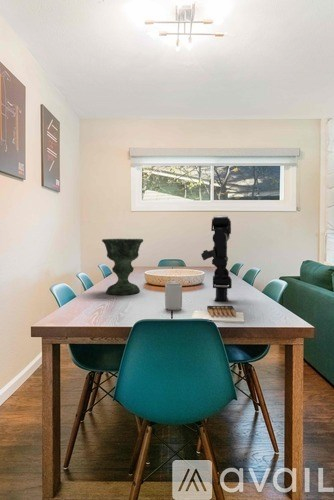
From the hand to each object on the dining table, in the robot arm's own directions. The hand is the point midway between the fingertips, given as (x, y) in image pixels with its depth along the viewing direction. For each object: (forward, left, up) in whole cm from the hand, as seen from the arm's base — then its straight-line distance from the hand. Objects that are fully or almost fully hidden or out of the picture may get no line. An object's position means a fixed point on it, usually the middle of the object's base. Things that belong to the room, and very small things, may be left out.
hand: (220, 278), depth 149 cm
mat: (+17, 0, -13) cm, 21 cm away
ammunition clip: (+8, 0, -11) cm, 14 cm away
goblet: (-26, -55, -13) cm, 62 cm away
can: (+7, -20, -13) cm, 25 cm away
